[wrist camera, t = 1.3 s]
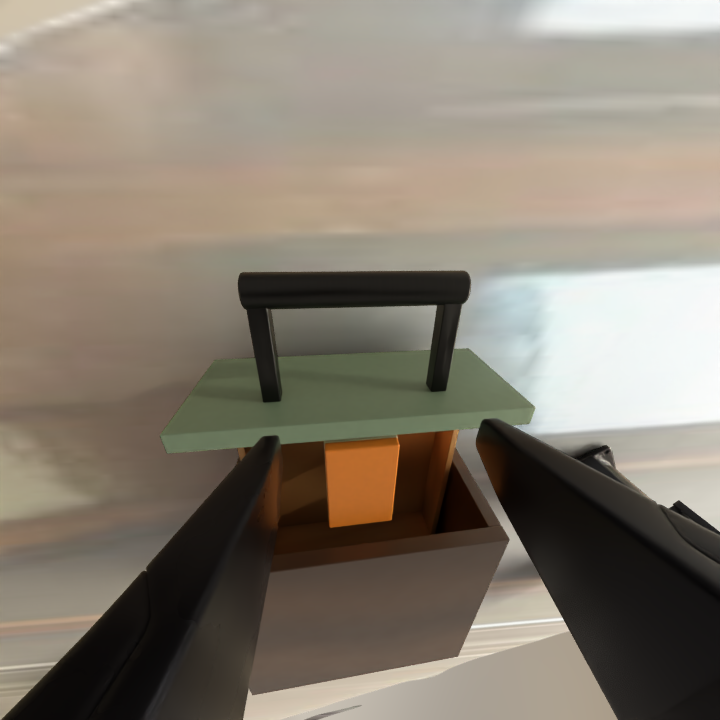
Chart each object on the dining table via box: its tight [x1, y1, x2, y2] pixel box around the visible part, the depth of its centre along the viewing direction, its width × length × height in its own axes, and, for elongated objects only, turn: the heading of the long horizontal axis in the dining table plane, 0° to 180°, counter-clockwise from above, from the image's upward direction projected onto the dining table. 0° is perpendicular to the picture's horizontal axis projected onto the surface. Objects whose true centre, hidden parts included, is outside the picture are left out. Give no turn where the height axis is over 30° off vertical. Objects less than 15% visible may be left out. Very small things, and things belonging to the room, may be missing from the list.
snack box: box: [324, 435, 400, 528], centre depth 16 cm, size 6×3×6 cm, turn 179°
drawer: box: [160, 271, 535, 555], centre depth 17 cm, size 22×16×6 cm
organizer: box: [236, 448, 509, 695], centre depth 22 cm, size 16×16×9 cm
